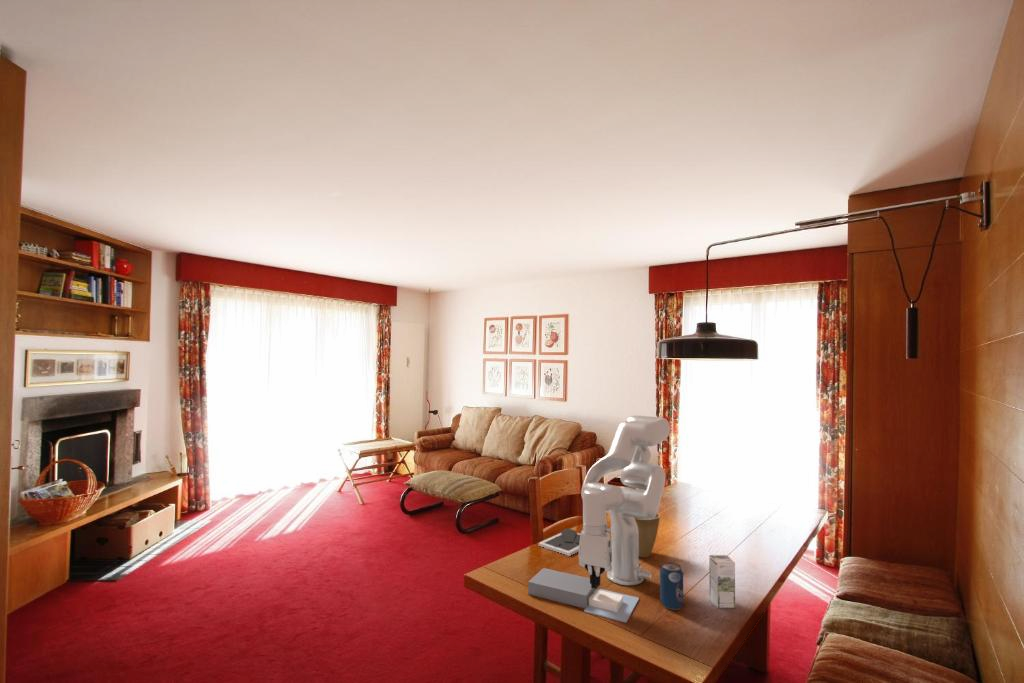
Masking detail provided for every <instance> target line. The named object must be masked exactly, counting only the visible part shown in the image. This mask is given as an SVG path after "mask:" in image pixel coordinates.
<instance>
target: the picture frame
mask: <svg viewBox="0 0 1024 683" xmlns="http://www.w3.org/2000/svg"><path fill="white" fill-rule="evenodd" d="M580 536H581V532H580V533H579V532H577V530H574V529H570V528H565V529H563V530H561V531H560V533H558V534H556V535H555V534H554V535H553V536H551V537H549V538H547V539H544V540H542V541H540V542H538V547H539V546H541V547H540V548H542V547H544V548H543V549H545V548H547V549H546V550H548V549H550V550H549V551H551V550H553V551H552V552H554V551H556V552H555V553H557V552H559V553H558V554H560V553H562V554H561V555H563V554H565V555H564V556H566V555H567V557H569V556H570V557H571V555H572V556H574V555H575V553H576V554H578V553H579V543H580ZM577 552H578V553H577ZM573 554H574V555H573Z"/></svg>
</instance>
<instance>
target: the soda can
mask: <svg viewBox="0 0 1024 683" xmlns="http://www.w3.org/2000/svg"><path fill="white" fill-rule="evenodd" d="M682 570H683V569H682V568H681V565H679V564H677V563H675V562H674V563H673V562H664V563H662V565H661V568H660V569H659V588H660V589H659V594H660V595H659V600H660V602H661V604H662V606H663V607H664V608H666V609H669V610H673V611H674V610H675V611H676V610H677V611H678V610H680V609H682V607H683V606H684V603H685V602H684V572H683V571H682Z"/></svg>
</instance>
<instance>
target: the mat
mask: <svg viewBox="0 0 1024 683" xmlns="http://www.w3.org/2000/svg"><path fill="white" fill-rule="evenodd" d="M599 590H601V591H605V592H609V593H614V594H618V595H622V596H623V603H622V605H621V607H620V608H619V610H618V612H614V611H610V610H606V609H602V608H598V607H594V606H590V605H589V604H588V606H587V607H586V608H585V609H584V610H583V612H584V613H587V614H590V615H594V616H597V617H602V618H606V619H610V620H614V621H617V622H622V623H625V624H626V623H628V620H629V619H630V617H631V615H632V614H633V612H634V609H635V607H636V606H637V604H638V602H639V600H640V597H637V596H633V595H628V594H624V593H620V592H615V591H611V590H607V589H602V588H599Z"/></svg>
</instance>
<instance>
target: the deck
mask: <svg viewBox="0 0 1024 683" xmlns="http://www.w3.org/2000/svg"><path fill="white" fill-rule="evenodd" d="M527 583H528V584H527V586H528V589H527V590H528V592H527V593H528V595H530V596H535V597H538V598H542V599H545V600H546V599H547V600H549V601H554V602H558V603H562V604H565V605H570V606H573V607H577V608H582V609H584V610H585V608H586V607H587V606H588V604H589V598H590V596H591V595H592V594H593V592H594V591H595V590H599V587H598V588H597V589H595V588H591V584H590V577H585V576H581V575H576V574H572V573H569V572H563V571H558V570H554V569H549V568H546V567H545V568H544V567H543V568H542V569H540V570H539V572H537V573H536V574H535V575H534V576H533V577H532V578H530V580H528V581H527Z"/></svg>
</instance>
